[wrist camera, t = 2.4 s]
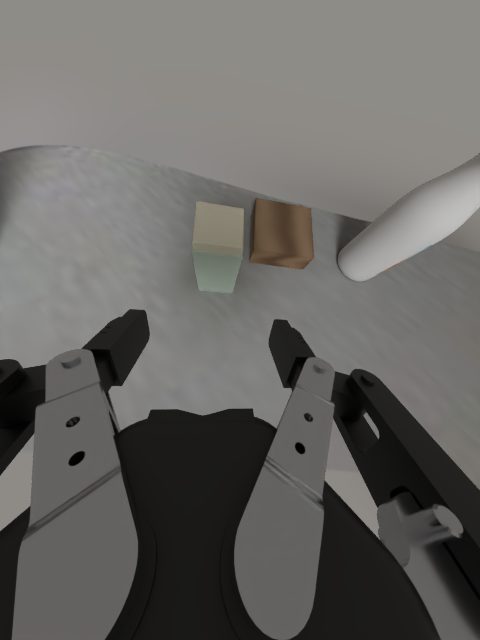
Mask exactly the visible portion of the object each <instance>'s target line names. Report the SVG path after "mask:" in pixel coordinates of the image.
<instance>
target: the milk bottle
mask: <svg viewBox="0 0 480 640" xmlns="http://www.w3.org/2000/svg"><path fill="white" fill-rule="evenodd" d="M479 207H480V153H479V154H478V155H476V156H475V157H474V158H472V159H470V160H469V161H467V162H466V163H464V164H462V165H460V166H459V167H457V168H455V169H453V170H451V171H450V172H447V173H445V174H443V175H441V176H439V177H437V178H434V179H432V180H430V181H428V182H426V183H424V184H422V185H420V186H418V187H417V188H415V189H413V190H412V191H410V192H409V193H407V194H406V195H405V196H403V197H402V198H401V199H399V200H398V201H397V202H396V203H395V204H393V205H392V206H391V207H390V208H388V209H387V210H386V211H385V212H384V213H383V214H382V215H380V216H379V217H378V218H377V219H376V220H375V221H373V222H372V223H371V224H370V225H369V226H368V227H366V228H365V229H364V230H363V231H362V232H361V233H359V234H358V235H357V236H356V237H355V238H354V239H353V240H351V241H350V242H349V243H348V244H347V245H346V246H345V247H344V248H343V249H342V250H341V251H340V253H339V255H338V266H339V268H340V270H341V271H342V273H343V274H344V275H345V276H346V277H348V278H349V279H351V280H354V281H365V280H368V279H370V278H372V277H374V276H376V275H378V274H379V273H381V272H383V271H385V270H387V269H389V268H391V267H393V266H395V265H397V264H398V263H400V262H402V261H404V260H406V259H408V258H410V257H411V256H413V255H415V254H417V253H419V252H421V251H423V250H424V249H426V248H428V247H430V246H432V245H433V244H435V243H437V242H439V241H440V240H442V239H443V238H445V237H446V236H448V235H449V234H451V233H452V232H453V231H455V230H456V229H457V228H459V227H460V226H461V225H462V224H463V223H464V222H465V221H466V220H467V219H468V218H469V217H470V216H471V215H472V214H473V213H474V212H475V211H476V210H477V209H478V208H479Z"/></svg>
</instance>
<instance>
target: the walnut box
mask: <svg viewBox="0 0 480 640" xmlns="http://www.w3.org/2000/svg"><path fill="white" fill-rule="evenodd" d="M313 258H314V250H313V233H312V217H311V208H306V207H301V206H296V205H290V204H285V203H280V202H275V201H269V200H264V199H259V198H256V200H255V204H254V208H253V212H252V216H251V237H250V259H249V262H252V263H259V264H267V265H274V266H281V267H288V268H295V269H304V268H305V267H306V266H307V264H308V263H309V262H310V261H311V260H312V259H313Z"/></svg>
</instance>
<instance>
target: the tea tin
mask: <svg viewBox="0 0 480 640" xmlns="http://www.w3.org/2000/svg"><path fill="white" fill-rule="evenodd" d="M243 228H244V209H242V208H236V207H230V206H224V205H217V204H211V203H205V202H199V201H197V204H196V213H195V222H194V231H193V240H192V251H191V252H192V257H193V262H194V267H195V273H196V278H197V283H198V288H199V290H201V291H213V292H224V293H233V289H234V286H235V282H236V279H237V276H238V272H239V269H240V265H241V262H242V258H243Z"/></svg>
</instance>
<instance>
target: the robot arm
mask: <svg viewBox="0 0 480 640" xmlns="http://www.w3.org/2000/svg"><path fill="white" fill-rule="evenodd" d="M149 336H150V332H149V326H148V320H147V314H146V311H145V310H135V309H130V310H128V311H127V312H126V313H125V314H124V315H123V316H122V317H118V318H116V319H114V320H112V321H110V322H109V323H108V324H107V325H106V326H105V328H103V329H102V330H101V331H100V333H98V334H97V335H95V336H94V337H93V338H92V339H91V340H90V341H89V342H88V343H87V344H86V345H85V346H84V347H83V348H82V349H76V350H71V351H67V352H65V353H62V354H60V355H58V356H56V357H54V358H53V359H52V360H50V361H49V363H48V364H47V365H41V366H35V367H29V368H22V366H21V365H20V363H19V362H18V361H16V360H12V359H4V360H0V475H1V474H2V473H3V471H4V470H5V469H6V468H7V466H8V465H9V464H10V463H11V461H12V460H13V459H14V458H15V456H16V455H17V454H18V453H19V452H20V450H21V449H22V448H23V447H24V445H25V444H26V443H27V442H28V440H29V439H30V438H31V437H32V435H33V434H34V452H33V471H32V489H31V506H30V507H29V508H28V509H26V510H25V511H24V512H23V513H21V514H20V515H19V516H18V517H17V518H15V519H14V520H13V521H12V522H11V523H10V524H8V525H7V526H6V527H5V528H4V529H3V530H1V531H0V640H480V490H479V489H478V488H477V487H476V486H475V485H474V484H473V483H472V481H471V480H470V479H469V478H468V477H467V476H466V475H465V474H464V473H463V471H462V470H461V469H460V468H459V467H458V466H457V465H456V464H455V463H454V461H453V460H452V459H451V458H450V457H449V456H448V455H447V454H446V453H445V451H444V450H443V449H442V448H441V447H440V446H439V445H438V444H437V443H436V441H435V440H434V439H433V438H432V437H431V436H430V435H429V434H428V433H427V431H426V430H425V429H424V428H423V427H422V426H421V425H420V424H419V423H418V421H417V420H416V419H415V418H414V417H413V416H412V415H411V414H410V413H409V411H408V410H407V409H406V408H405V407H404V406H403V405H402V404H401V403H400V401H399V400H398V399H397V398H396V397H395V396H394V395H393V394H392V393H391V391H390V390H389V389H388V388H387V387H386V386H385V385H384V384H383V383H382V381H381V380H380V379H379V378H377V377H376V376H375V375H373V374H372V373H370V372H367V371H365V370H361V369H355V370H353V371H352V372H351V374H350V375H346V374H343V373H339V372H335V371H334V369H333V367H332V366H331V365H330V364H329V363H328V362H326V361H324V360H322V359H320V358H316V356H315V355H314V353H313V352H312V350H311V349H310V347H309V346H308V344H307V343H306V341H305V340H304V339H303V337H302V335H301V334H300V332H298V331H297V330H296V329H295V328H291V326H290V324H289V323H288V321H287V320H279V319H275V320H274V322H273V325H272V329H271V333H270V337H269V348H270V351H271V354H272V356H273V359H274V362H275V365H276V368H277V370H278V373H279V376H280V379H281V382H282V384H283V387H284V388H291V389H292V393H291V396H290V398H289V400H288V403H287V405H286V408H285V410H284V412H283V415H282V417H281V419H280V422H279V424H278V426H277V429H276V428H275V427H274V426H272V425H271V424H269V423H268V422H266V421H264V420H262V419H260V418H257V417H254V414H253V409H227V410H223V411H220V412H216V413H212V414H209V415H204V416H202V415H197V414H194V413H190V412H186V411H182V410H178V409H171V410H151V411H150V413H149V416H148V419H144V420H142V421H139V422H136V423H134V424H132V425H130V426H128V427H126V428H125V429H123V430H120V427H119V424H118V421H117V418H116V414H115V411H114V408H113V404H112V401H111V398H110V395H109V392H108V391H109V389H110V388H111V386H122V385H123V383H124V381H125V380H126V378H127V376H128V375H129V373H130V371H131V370H132V368H133V366H134V364H135V363H136V361H137V359H138V358H139V356H140V354H141V353H142V351H143V349H144V348H145V346H146V344H147V342H148V340H149ZM366 412H367V413H368V415H369V416H370V418H371V419H372V421H373V422H374V424H375V425H376V427H377V428H378V431H379V439H378V438H377V436H376V435H375V433H374V432H373V430H372V429H371V427H370V426H369V424H368V423H367V421H366V419H365V418H364V416H363V415H364V414H365V413H366ZM333 419H334V421H335V423H336V425H337V427H338V429H339V431H340V433H341V435H342V437H343V439H344V441H345V443H346V445H347V447H348V449H349V451H350V453H351V455H352V457H353V459H354V461H355V463H356V465H357V467H358V469H359V471H360V473H361V475H362V477H363V479H364V481H365V483H366V485H367V487H368V489H369V491H370V493H371V496H372V498H373V500H374V502H375V504H376V506H377V508H378V510H377V519H378V524H379V529H378V535H379V538H380V540H379V539H378V537H376V535H375V534H374V533H373V532H372V531H371V530H370V529H369V528H368V527H367V526H366V525H365V523H364V522H363V521H362V520H361V519H360V518H359V517H358V516H357V515H356V514H355V513H354V512H353V510H352V509H351V508H350V507H349V506H348V505H347V504H346V503H345V502H344V501H343V500H342V499H341V497H340V496H339V495H338V494H337V493H336V492H335V491H334V490H333V489H332V488H331V487H330V486H329V485H328V483H327V482H325V480H324V479H325V472H326V465H327V457H328V450H329V443H330V435H331V428H332V421H333Z"/></svg>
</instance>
